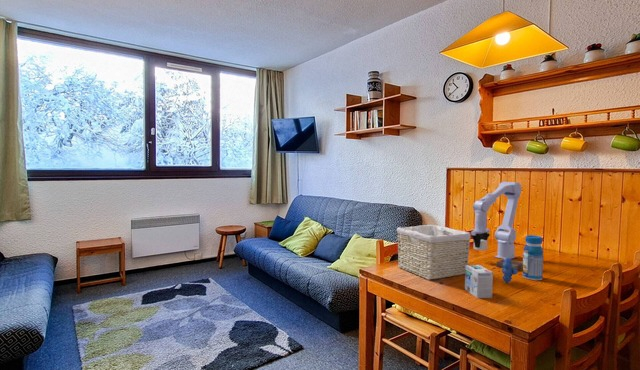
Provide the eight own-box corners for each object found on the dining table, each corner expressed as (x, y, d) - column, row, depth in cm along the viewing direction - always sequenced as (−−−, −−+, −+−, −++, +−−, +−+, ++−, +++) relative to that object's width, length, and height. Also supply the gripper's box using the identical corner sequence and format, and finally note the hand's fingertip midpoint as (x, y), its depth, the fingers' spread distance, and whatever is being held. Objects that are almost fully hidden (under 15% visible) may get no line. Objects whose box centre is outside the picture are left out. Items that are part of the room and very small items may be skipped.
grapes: (515, 288, 154) (516, 261, 153) (498, 285, 158) (499, 259, 157) (519, 281, 163) (520, 256, 163) (503, 278, 167) (504, 253, 167)
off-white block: (478, 247, 199) (478, 238, 199) (487, 249, 195) (487, 240, 195) (473, 248, 196) (473, 240, 196) (481, 250, 192) (482, 241, 192)
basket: (433, 261, 198) (434, 222, 197) (472, 274, 174) (473, 231, 173) (394, 267, 187) (394, 226, 185) (430, 282, 163) (431, 236, 161)
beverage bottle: (535, 281, 163) (537, 239, 162) (518, 276, 170) (519, 235, 169) (546, 279, 167) (548, 237, 166) (529, 274, 174) (530, 234, 173)
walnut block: (506, 264, 193) (506, 258, 193) (525, 268, 185) (525, 263, 185) (496, 267, 187) (496, 261, 187) (515, 272, 179) (515, 266, 179)
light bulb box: (464, 289, 154) (464, 264, 153) (479, 288, 154) (479, 264, 154) (477, 298, 143) (477, 272, 143) (493, 298, 144) (493, 272, 143)
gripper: (481, 220, 202) (481, 243, 203) (466, 222, 194) (465, 247, 195) (493, 221, 196) (492, 245, 197) (478, 224, 188) (477, 249, 189)
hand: (480, 246), depth 196 cm, fingers closed on off-white block, 5 cm apart
